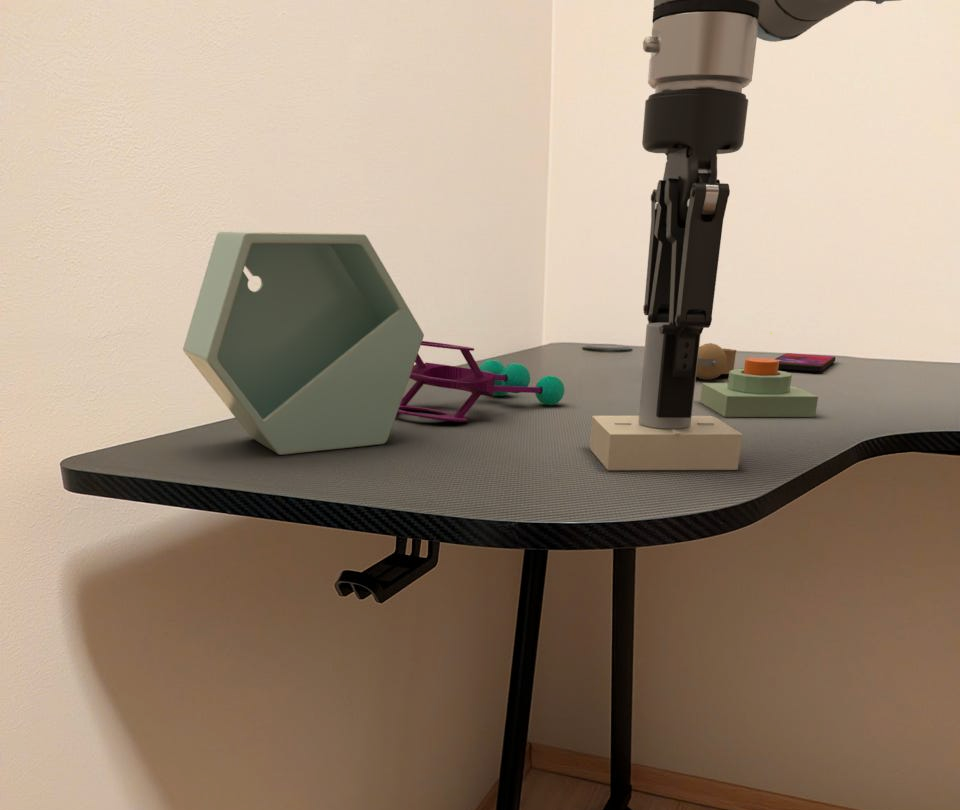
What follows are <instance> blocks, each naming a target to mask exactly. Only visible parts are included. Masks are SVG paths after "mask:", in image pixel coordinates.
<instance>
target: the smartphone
mask: <svg viewBox="0 0 960 810" xmlns="http://www.w3.org/2000/svg"><path fill="white" fill-rule="evenodd" d="M836 358H837V357H836V356H832V355H821V354H820V355H818V354H805V353H804V354H803V353H784V354H782V355H780V356H778V357H776V358H775V359H776V360H779V367H778V370H791V371H793V370H794V371H806V372H822V371H823V370H825V369H826V368H828V367H829V366H831V365H832V364H833V363H835V362H836Z"/></svg>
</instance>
